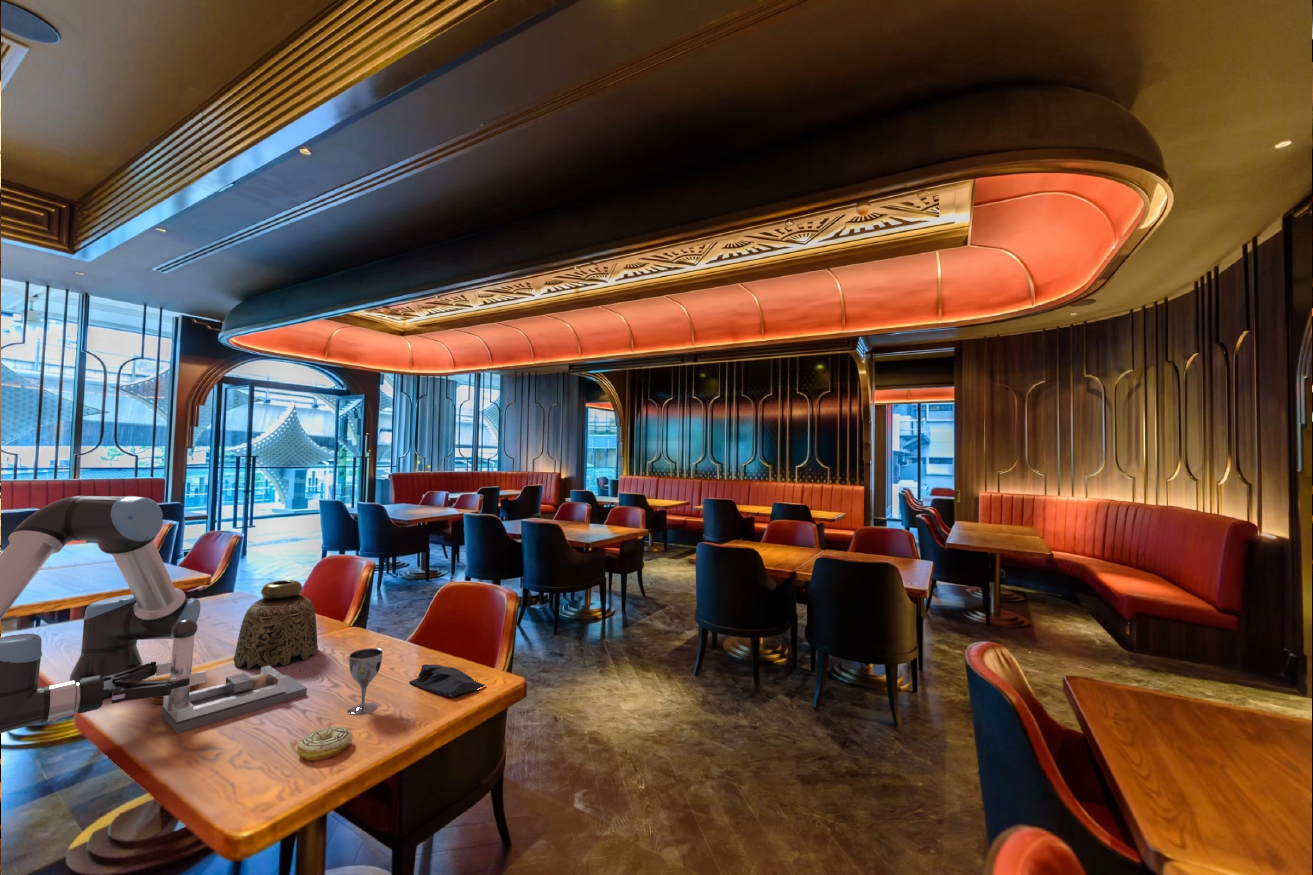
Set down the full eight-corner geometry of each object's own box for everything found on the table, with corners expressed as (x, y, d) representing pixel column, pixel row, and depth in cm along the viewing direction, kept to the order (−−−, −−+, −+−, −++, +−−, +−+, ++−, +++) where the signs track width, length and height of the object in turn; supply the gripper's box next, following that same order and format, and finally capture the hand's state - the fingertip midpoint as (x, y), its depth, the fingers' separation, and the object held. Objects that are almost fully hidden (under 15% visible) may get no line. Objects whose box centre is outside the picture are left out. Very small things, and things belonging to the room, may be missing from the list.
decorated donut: (361, 745, 125) (362, 729, 125) (317, 768, 115) (319, 750, 115) (331, 735, 129) (332, 719, 129) (286, 756, 119) (288, 739, 119)
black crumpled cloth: (444, 705, 147) (445, 688, 147) (405, 683, 160) (406, 667, 161) (490, 688, 159) (491, 672, 159) (451, 669, 173) (452, 655, 173)
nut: (246, 691, 146) (247, 677, 146) (263, 687, 149) (264, 672, 149) (251, 695, 143) (252, 681, 144) (268, 691, 147) (269, 676, 147)
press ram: (157, 708, 134) (165, 616, 135) (268, 679, 154) (274, 599, 155) (171, 723, 127) (179, 627, 128) (285, 691, 146) (291, 607, 147)
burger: (186, 703, 142) (187, 686, 142) (143, 708, 139) (145, 690, 139) (204, 689, 151) (206, 672, 151) (164, 692, 148) (166, 675, 148)
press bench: (161, 714, 135) (161, 706, 135) (285, 680, 158) (286, 674, 158) (176, 733, 127) (177, 725, 127) (306, 695, 149) (306, 687, 149)
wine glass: (341, 717, 137) (345, 659, 138) (350, 703, 145) (354, 649, 146) (374, 714, 139) (378, 657, 140) (382, 701, 147) (385, 647, 148)
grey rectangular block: (224, 695, 143) (226, 677, 143) (242, 690, 146) (243, 672, 146) (233, 703, 139) (234, 683, 139) (251, 698, 142) (252, 679, 142)
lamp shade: (293, 640, 192) (298, 572, 194) (332, 652, 182) (337, 580, 184) (218, 661, 171) (224, 584, 173) (257, 675, 161) (263, 593, 163)
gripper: (66, 698, 125) (182, 671, 143) (84, 731, 111) (211, 698, 128) (69, 666, 126) (185, 643, 143) (87, 695, 111) (213, 666, 128)
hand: (197, 669), depth 136 cm, fingers open, 13 cm apart
